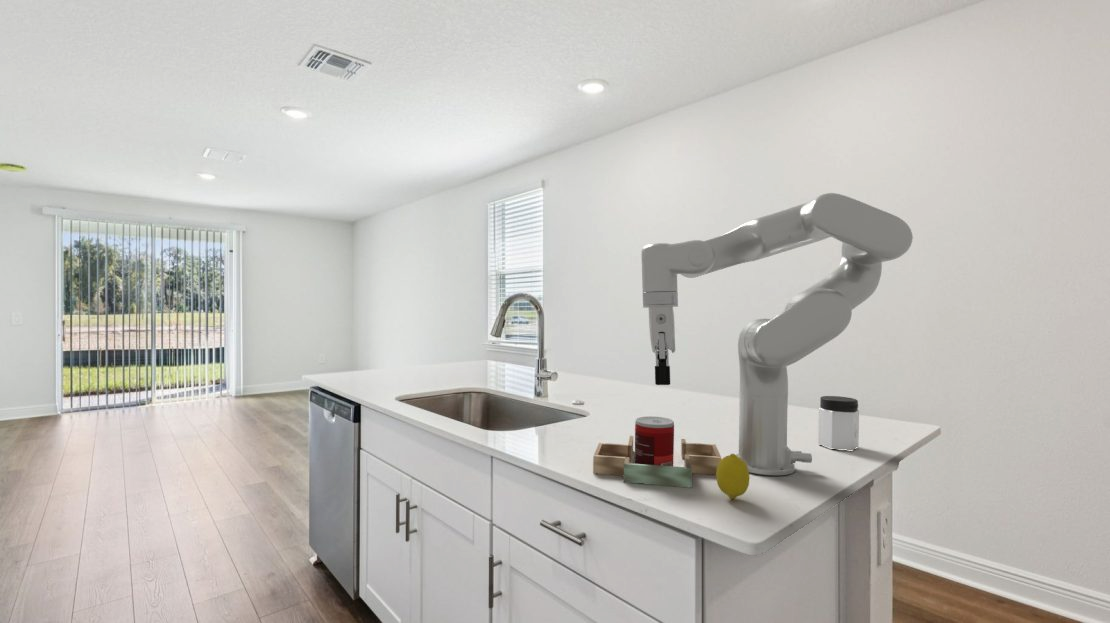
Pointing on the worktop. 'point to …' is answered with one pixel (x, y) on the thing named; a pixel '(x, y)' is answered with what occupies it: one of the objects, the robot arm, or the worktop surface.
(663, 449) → the canned food
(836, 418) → the jar
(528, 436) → the worktop surface
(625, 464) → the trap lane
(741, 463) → the lemon
